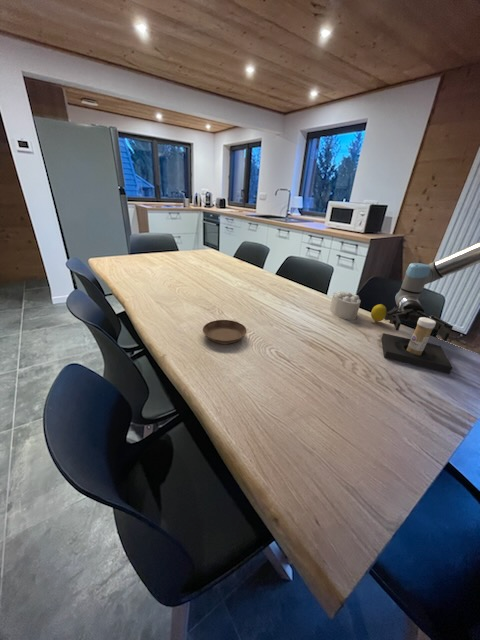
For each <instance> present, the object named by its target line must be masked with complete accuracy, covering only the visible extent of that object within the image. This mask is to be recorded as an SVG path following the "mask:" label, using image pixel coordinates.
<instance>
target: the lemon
mask: <svg viewBox="0 0 480 640" xmlns="http://www.w3.org/2000/svg"><path fill="white" fill-rule="evenodd" d="M387 312H388V311H387V307H386V306H385V305H384V304H382V303H380V304H376V305H374V306H373V307H372V309H371V312H370V317H371V319H372V320H373V321H374V322H375V323H377V322H382V321H383V320H385V319H384V318H385V315H386V313H387Z"/></svg>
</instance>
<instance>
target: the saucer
mask: <svg viewBox="0 0 480 640" xmlns="http://www.w3.org/2000/svg"><path fill="white" fill-rule="evenodd" d="M202 333H203V334H204V335H205V337H206V338H207V339H208V340H210V341H212V342H214V343H216V344H223V345H227V344H228V345H229V344H233V343H237V342H238V341H240V340H241V339H243V338H244V337H245V335H247V328H246V326H245V325H244V324H243V323H240V322H239V321H235V320H229V319H217V320H211V321H209V322H207V323H206V324H204V326H203V327H202Z"/></svg>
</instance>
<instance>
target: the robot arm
mask: <svg viewBox="0 0 480 640" xmlns="http://www.w3.org/2000/svg"><path fill="white" fill-rule="evenodd" d="M479 264H480V240H479V241H476V242H475V243H472V244H470V245H468V246H465V247H464V248H462V249H459V250H456V251H455V252H452V253H450V254H448V255H446V256H443V257H440V258H439V259H437V260H434V261H432V262H430V263H428V264H425V263H421V262H411V263H410V264H409V265H408V267H407V269H406V271H405V275H404V278H403V280H402V283H401V285H400V289H399V290H398V292H396V294H395V298H394V300H395V304H396V306H394V307H393V308H392V309H391V310H389V311H387V313H386V315H385V318H384V319H383V320H384V321H388V320H389V322H388V324H390V325H393V326H394V330H395V331H396V332H399V330H400V327H401V325H402V323H401V322H402V321H407V322H416V323H417V322H418V320H419V318H421V317H425V318H429V319H432V320H434V321H435V322H436V324H435V327H434V328H433V330H437V331H438V335H439V336H440V337H441V339H442V340H443V341H444V342H447V341H448V338H449V336H450V334H451V332H452V330H453V328H454V325H452V324H450V323H449V322H446V321H445V320H443V319H441V318H439V317H438V316H437V315H436V314H434V313H431V315H428V314H427V313H425V309H424V307H423V305H422V304H421V302H420V301H419V299H420V297H421V294H422V292H423V290H424V287H425V285H427V284H430V283H433V282H435V281H438V280H440V279H443V278H445V277H447V276H450V275H453V274H455V273H458V272H460V271H463V270H467V269H468V268H471V267H474V266H476V265H479ZM443 341H442V342H443Z"/></svg>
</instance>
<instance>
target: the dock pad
mask: <svg viewBox="0 0 480 640" xmlns="http://www.w3.org/2000/svg"><path fill="white" fill-rule="evenodd" d="M380 340H381V347H382V352H383V353H382V354H383V358H384V359H387V360H390V361H391V360H392V361H395V362H399V363H404V364H407V365H411V366H415V367H418V368H423V369H428V370H431V371H436V372H439V373H444V374H446V375H447V374H448V375H450V374H451V372H452V370H453V365H452V364H451V361H450V359H449V358H448V357H447V354H446V353H445V351H444V350H443V347H442V346H441V345H438V344H434V343H430V342H427V344H426V346H425V348H424V350H423V352H422V354H421V355H416V354H413V353H410V352H409V351H407V348H408V345H409V342H410V340H411V338H407V337H403V336H398V335H393V334H389V333H385V332H382V335H381V339H380Z"/></svg>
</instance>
